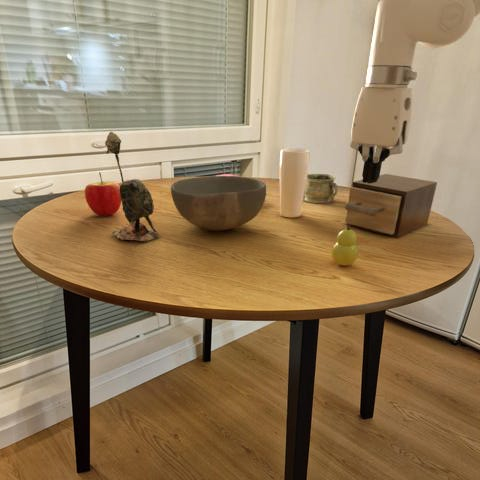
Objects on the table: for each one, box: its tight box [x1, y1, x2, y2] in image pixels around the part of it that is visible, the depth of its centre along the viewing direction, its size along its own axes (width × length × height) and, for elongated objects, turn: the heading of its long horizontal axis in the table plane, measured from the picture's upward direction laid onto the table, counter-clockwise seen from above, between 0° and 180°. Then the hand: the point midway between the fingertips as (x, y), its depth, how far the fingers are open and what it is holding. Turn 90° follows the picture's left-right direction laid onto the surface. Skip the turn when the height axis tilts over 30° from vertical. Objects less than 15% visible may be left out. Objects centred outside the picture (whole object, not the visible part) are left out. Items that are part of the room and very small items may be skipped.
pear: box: [331, 225, 359, 267], centre depth 74 cm, size 5×5×7 cm
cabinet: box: [346, 173, 438, 239], centre depth 96 cm, size 15×13×10 cm
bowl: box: [170, 175, 267, 232], centre depth 92 cm, size 20×20×10 cm
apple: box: [84, 172, 122, 217], centre depth 99 cm, size 8×8×10 cm
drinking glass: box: [278, 147, 311, 219], centre depth 100 cm, size 7×7×15 cm
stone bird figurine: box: [104, 131, 159, 242], centre depth 82 cm, size 8×11×20 cm
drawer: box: [345, 186, 402, 235], centre depth 93 cm, size 18×11×8 cm, turn 135°
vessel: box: [303, 173, 339, 204], centre depth 117 cm, size 12×9×6 cm
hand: (369, 181), depth 86 cm, fingers closed
